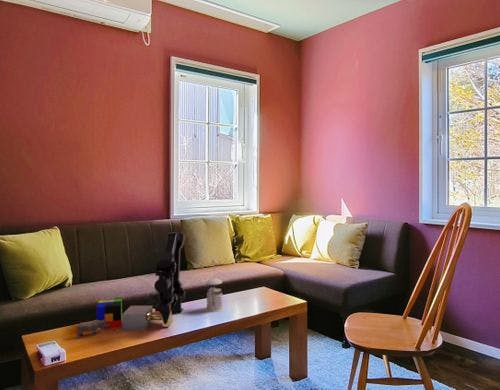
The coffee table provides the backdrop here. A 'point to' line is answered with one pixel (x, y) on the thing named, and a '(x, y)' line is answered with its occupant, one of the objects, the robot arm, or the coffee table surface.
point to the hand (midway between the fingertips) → (166, 321)
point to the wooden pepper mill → (159, 317)
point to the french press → (214, 295)
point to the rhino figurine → (91, 327)
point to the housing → (136, 318)
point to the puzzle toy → (110, 312)
